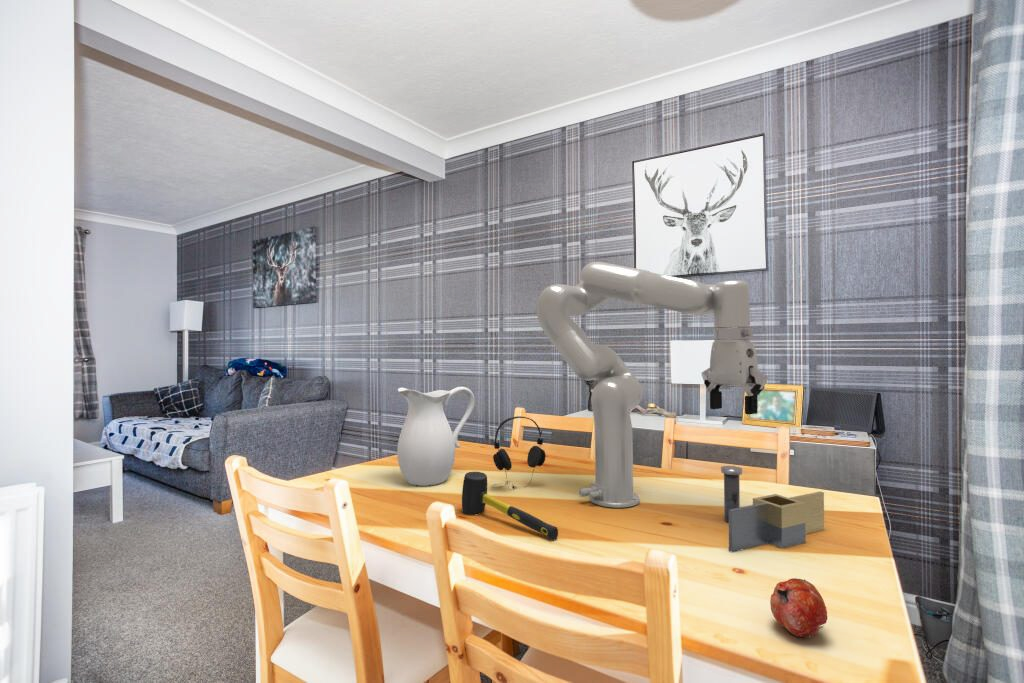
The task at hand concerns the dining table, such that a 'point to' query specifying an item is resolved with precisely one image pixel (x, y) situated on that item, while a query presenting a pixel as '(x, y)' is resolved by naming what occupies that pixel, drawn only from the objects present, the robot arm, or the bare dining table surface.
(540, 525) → the mallet
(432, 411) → the pitcher
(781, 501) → the hinge
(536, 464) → the headphones
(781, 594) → the pomegranate
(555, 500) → the dining table surface
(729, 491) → the hinge pin
